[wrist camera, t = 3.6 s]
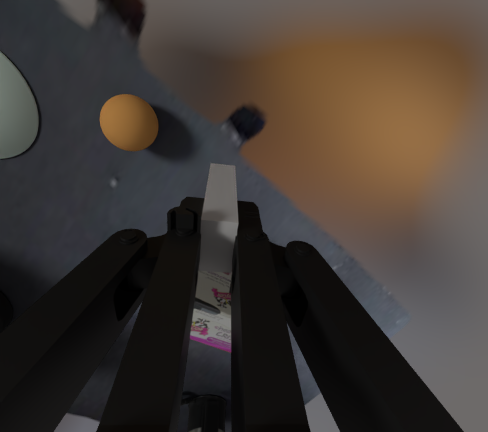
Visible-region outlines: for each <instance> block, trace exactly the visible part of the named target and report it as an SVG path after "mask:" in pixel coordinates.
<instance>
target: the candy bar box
mask: <svg viewBox="0 0 488 432" xmlns="http://www.w3.org/2000/svg"><path fill="white" fill-rule="evenodd" d="M231 276H232V271H231V273H226V272H210V271H198V282H197V289H196V296H195V304H194V311H193V318H192V325H191V333H190V339H192V340H195V341H198V342H201V343H204V344H207V345H210V346H212V347H215V348H218V349H221V350H224V351H227V352H230V353H231V293H229V290H230V283H231Z"/></svg>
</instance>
